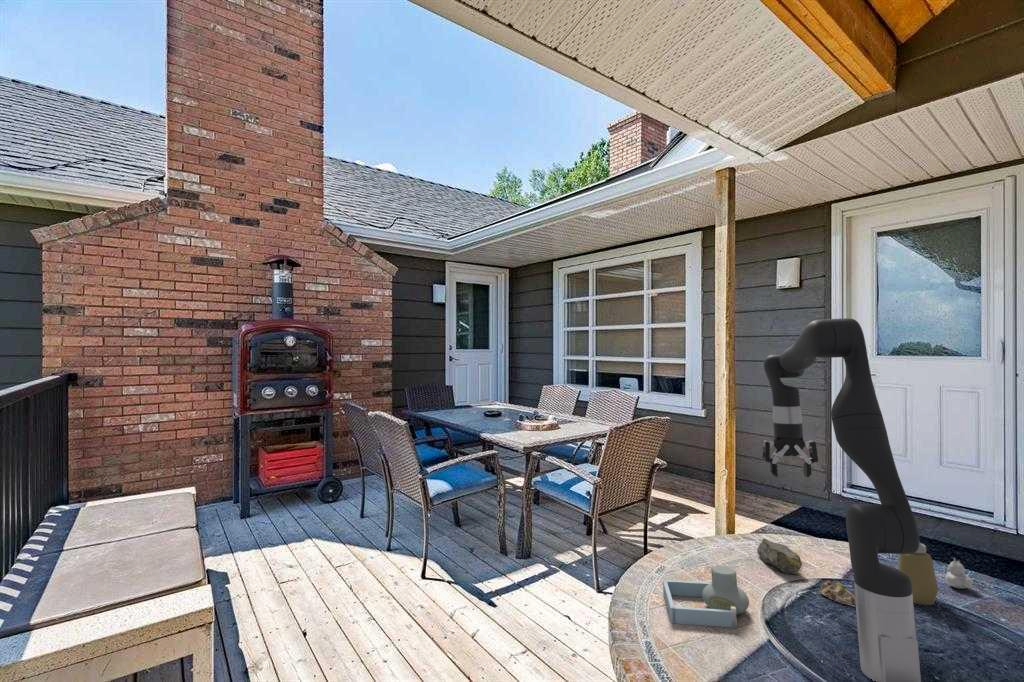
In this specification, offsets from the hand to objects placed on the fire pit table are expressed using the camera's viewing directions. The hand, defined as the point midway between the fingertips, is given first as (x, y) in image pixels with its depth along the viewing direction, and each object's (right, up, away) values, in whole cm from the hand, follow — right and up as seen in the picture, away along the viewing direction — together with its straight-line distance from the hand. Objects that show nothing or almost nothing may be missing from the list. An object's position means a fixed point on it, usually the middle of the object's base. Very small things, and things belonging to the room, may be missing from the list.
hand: (791, 476), depth 139 cm
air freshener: (-28, -29, -19) cm, 44 cm away
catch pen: (-35, -29, -18) cm, 49 cm away
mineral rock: (+5, -29, -14) cm, 32 cm away
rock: (+1, -30, +7) cm, 31 cm away
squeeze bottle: (+23, -28, -17) cm, 40 cm away
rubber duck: (+40, -28, -11) cm, 50 cm away
